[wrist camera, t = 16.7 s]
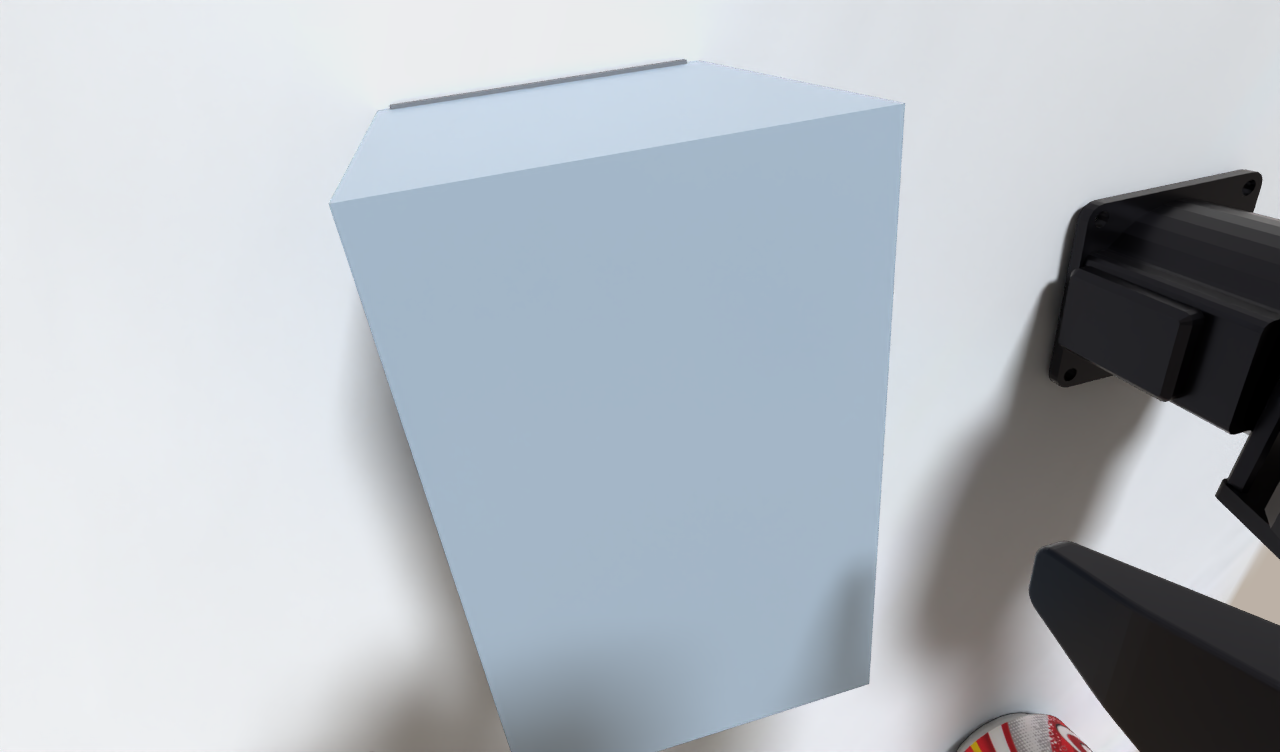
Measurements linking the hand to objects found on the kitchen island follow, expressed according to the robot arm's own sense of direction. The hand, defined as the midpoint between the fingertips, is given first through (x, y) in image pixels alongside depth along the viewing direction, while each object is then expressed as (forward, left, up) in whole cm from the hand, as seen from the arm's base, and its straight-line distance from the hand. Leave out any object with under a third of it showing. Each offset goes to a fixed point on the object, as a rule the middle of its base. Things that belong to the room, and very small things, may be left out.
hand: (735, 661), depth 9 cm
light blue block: (0, 0, -12) cm, 12 cm away
